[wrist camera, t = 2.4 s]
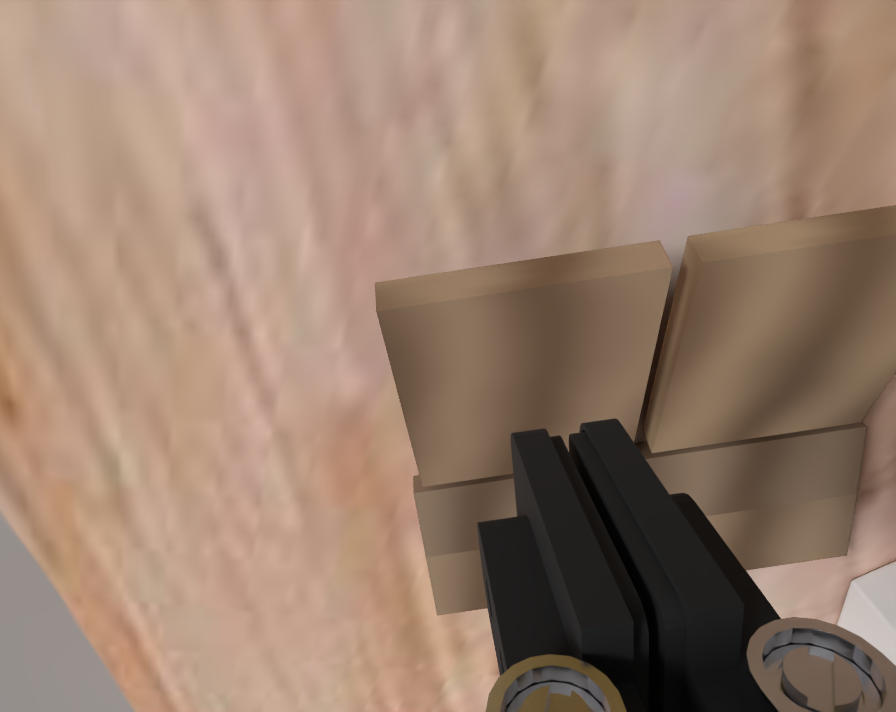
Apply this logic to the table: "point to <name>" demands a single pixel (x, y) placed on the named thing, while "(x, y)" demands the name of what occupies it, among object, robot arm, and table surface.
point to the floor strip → (680, 471)
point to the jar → (873, 609)
